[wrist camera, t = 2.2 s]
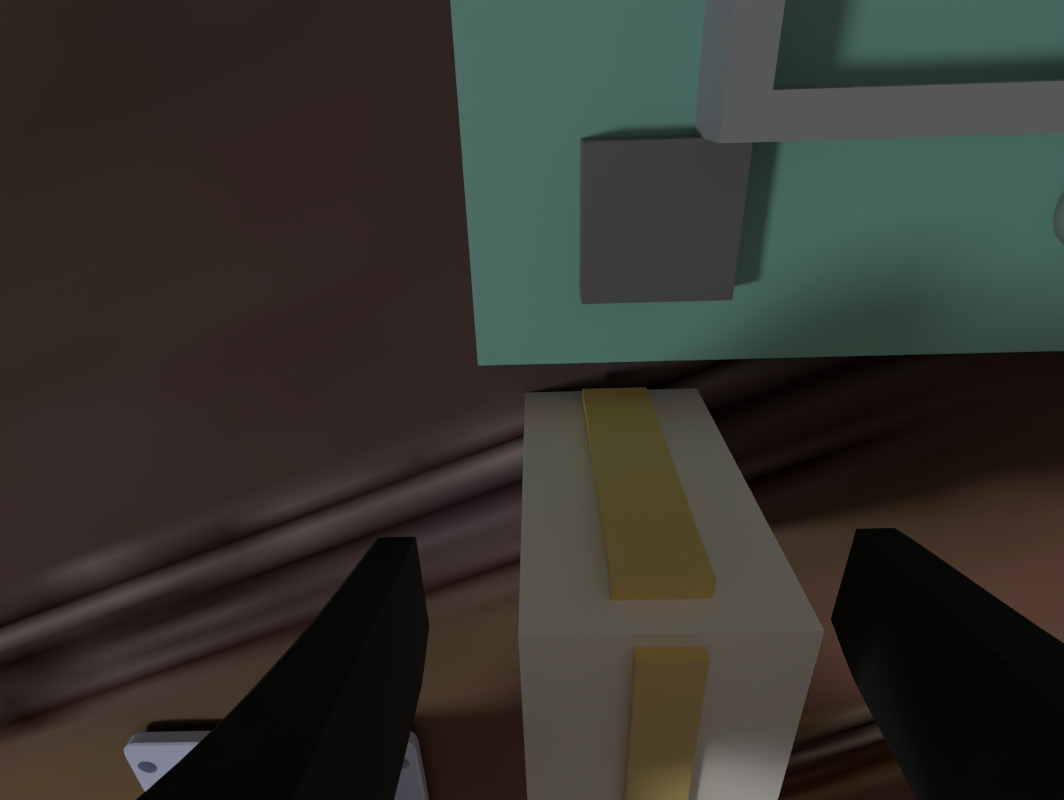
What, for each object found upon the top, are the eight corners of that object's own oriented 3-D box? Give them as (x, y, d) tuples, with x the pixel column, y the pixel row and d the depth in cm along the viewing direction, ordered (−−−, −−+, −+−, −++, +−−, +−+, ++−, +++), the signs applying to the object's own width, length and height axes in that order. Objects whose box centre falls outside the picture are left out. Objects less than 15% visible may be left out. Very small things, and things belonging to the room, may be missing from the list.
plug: (679, 544, 14) (774, 846, 8) (531, 547, 14) (529, 849, 8) (697, 374, 12) (838, 626, 6) (524, 378, 12) (517, 631, 6)
